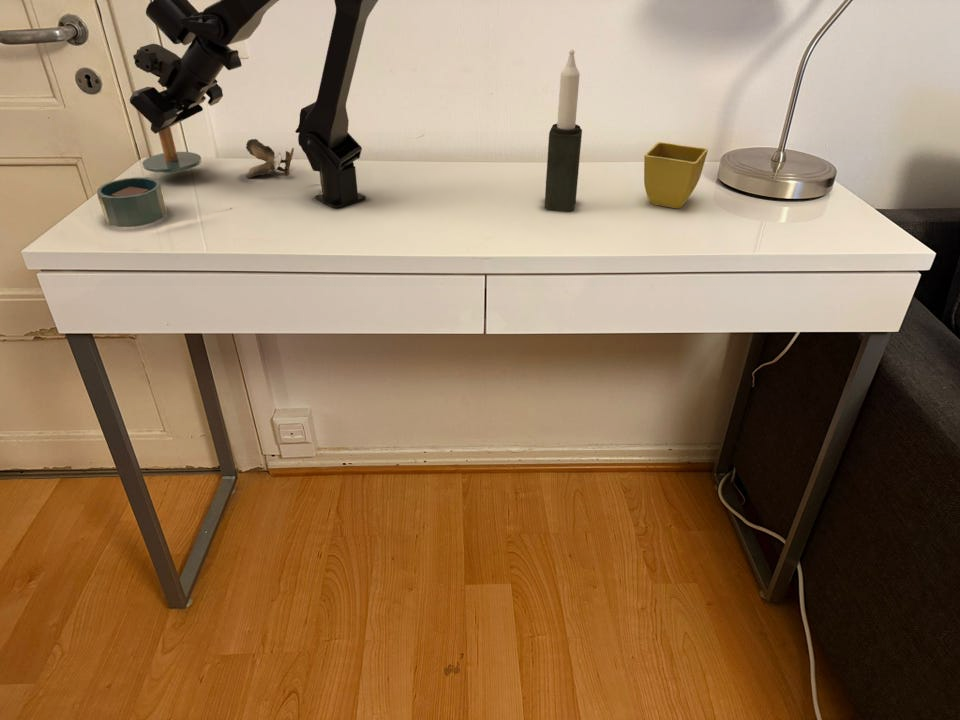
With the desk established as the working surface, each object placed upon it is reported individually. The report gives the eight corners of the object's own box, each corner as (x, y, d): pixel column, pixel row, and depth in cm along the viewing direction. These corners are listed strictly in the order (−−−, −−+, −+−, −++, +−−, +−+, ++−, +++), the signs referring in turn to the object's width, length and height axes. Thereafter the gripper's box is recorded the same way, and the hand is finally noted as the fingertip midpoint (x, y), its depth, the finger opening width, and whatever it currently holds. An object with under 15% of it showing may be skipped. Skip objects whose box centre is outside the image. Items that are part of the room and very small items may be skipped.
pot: (177, 219, 113) (169, 187, 110) (120, 234, 108) (110, 202, 105) (153, 203, 119) (145, 173, 116) (98, 218, 113) (88, 186, 110)
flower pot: (636, 206, 120) (643, 154, 115) (650, 190, 126) (658, 140, 121) (687, 215, 117) (696, 162, 111) (699, 199, 123) (709, 148, 118)
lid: (212, 167, 127) (199, 107, 121) (158, 180, 121) (142, 117, 115) (187, 154, 133) (174, 96, 127) (134, 166, 127) (118, 106, 121)
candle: (573, 212, 117) (587, 53, 103) (543, 209, 118) (553, 51, 104) (576, 201, 121) (590, 47, 107) (547, 199, 122) (557, 45, 108)
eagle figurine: (295, 161, 134) (248, 153, 133) (293, 137, 128) (243, 127, 126) (287, 194, 131) (239, 185, 130) (284, 170, 124) (233, 161, 123)
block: (155, 213, 114) (149, 189, 112) (137, 221, 111) (130, 198, 109) (136, 209, 115) (129, 186, 113) (118, 218, 112) (110, 194, 110)
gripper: (193, 19, 120) (153, 82, 129) (123, 37, 105) (83, 107, 114) (242, 70, 123) (200, 128, 132) (181, 94, 108) (138, 158, 117)
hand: (157, 129), depth 123 cm, fingers closed on lid, 2 cm apart
